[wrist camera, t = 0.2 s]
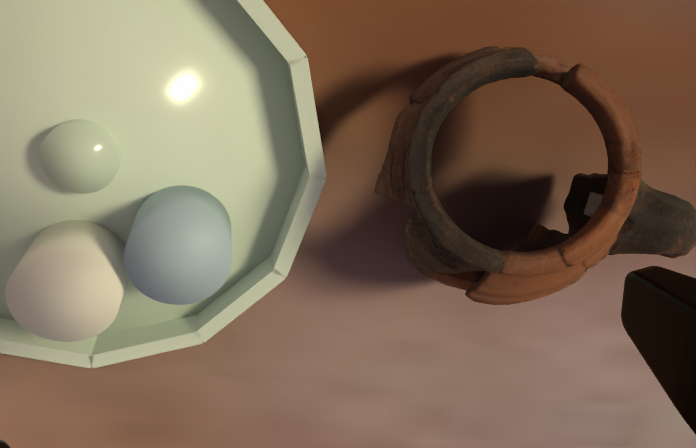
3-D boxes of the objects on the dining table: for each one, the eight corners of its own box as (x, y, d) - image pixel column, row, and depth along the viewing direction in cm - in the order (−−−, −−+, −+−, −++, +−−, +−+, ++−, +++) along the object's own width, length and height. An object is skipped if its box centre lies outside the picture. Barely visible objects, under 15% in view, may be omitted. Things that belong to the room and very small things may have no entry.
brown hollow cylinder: (358, 279, 25) (363, 294, 17) (386, 74, 26) (403, -9, 17) (624, 315, 25) (758, 348, 17) (647, 108, 26) (790, 42, 17)
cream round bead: (142, 290, 22) (133, 329, 20) (50, 310, 21) (29, 352, 19) (113, 211, 20) (100, 243, 18) (13, 231, 20) (-14, 266, 18)
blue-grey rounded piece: (240, 258, 22) (241, 292, 20) (150, 277, 22) (141, 314, 19) (219, 176, 20) (218, 204, 18) (121, 195, 20) (108, 226, 18)
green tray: (339, 284, 24) (348, 310, 23) (-46, 369, 23) (-69, 404, 21) (267, -151, 17) (272, -162, 15) (-313, -76, 15) (-383, -78, 14)
